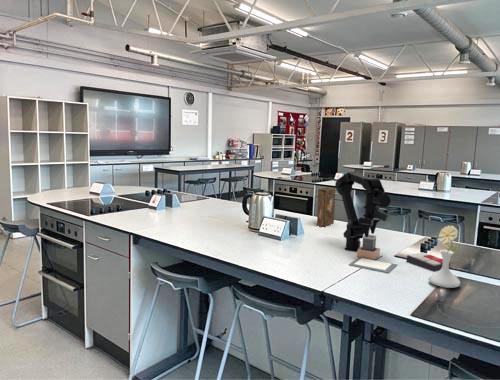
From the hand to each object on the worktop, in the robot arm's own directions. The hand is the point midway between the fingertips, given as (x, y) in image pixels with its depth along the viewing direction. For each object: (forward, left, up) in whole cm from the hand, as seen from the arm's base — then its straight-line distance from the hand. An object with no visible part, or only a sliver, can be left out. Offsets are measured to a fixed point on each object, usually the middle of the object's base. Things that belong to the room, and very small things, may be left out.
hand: (369, 235), depth 187 cm
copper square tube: (0, 0, -11) cm, 11 cm away
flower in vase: (+37, -20, -11) cm, 43 cm away
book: (-47, +54, -11) cm, 73 cm away
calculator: (+26, +4, -12) cm, 29 cm away
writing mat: (+6, -12, -11) cm, 17 cm away
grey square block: (0, 0, -10) cm, 10 cm away
